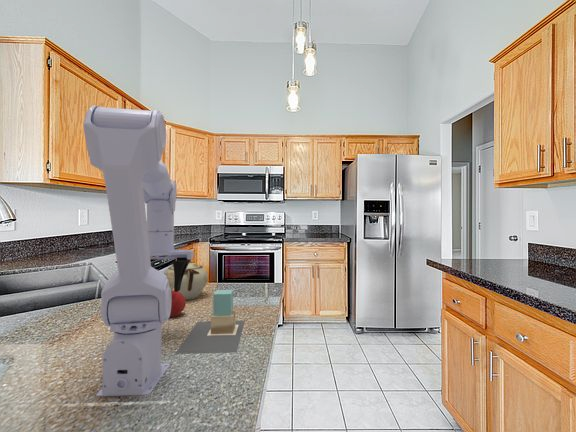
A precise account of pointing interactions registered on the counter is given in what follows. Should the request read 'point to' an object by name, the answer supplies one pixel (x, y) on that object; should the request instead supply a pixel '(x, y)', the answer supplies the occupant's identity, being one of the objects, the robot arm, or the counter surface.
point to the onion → (177, 303)
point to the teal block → (223, 303)
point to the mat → (211, 340)
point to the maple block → (223, 324)
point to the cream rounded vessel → (189, 280)
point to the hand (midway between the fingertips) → (160, 291)
